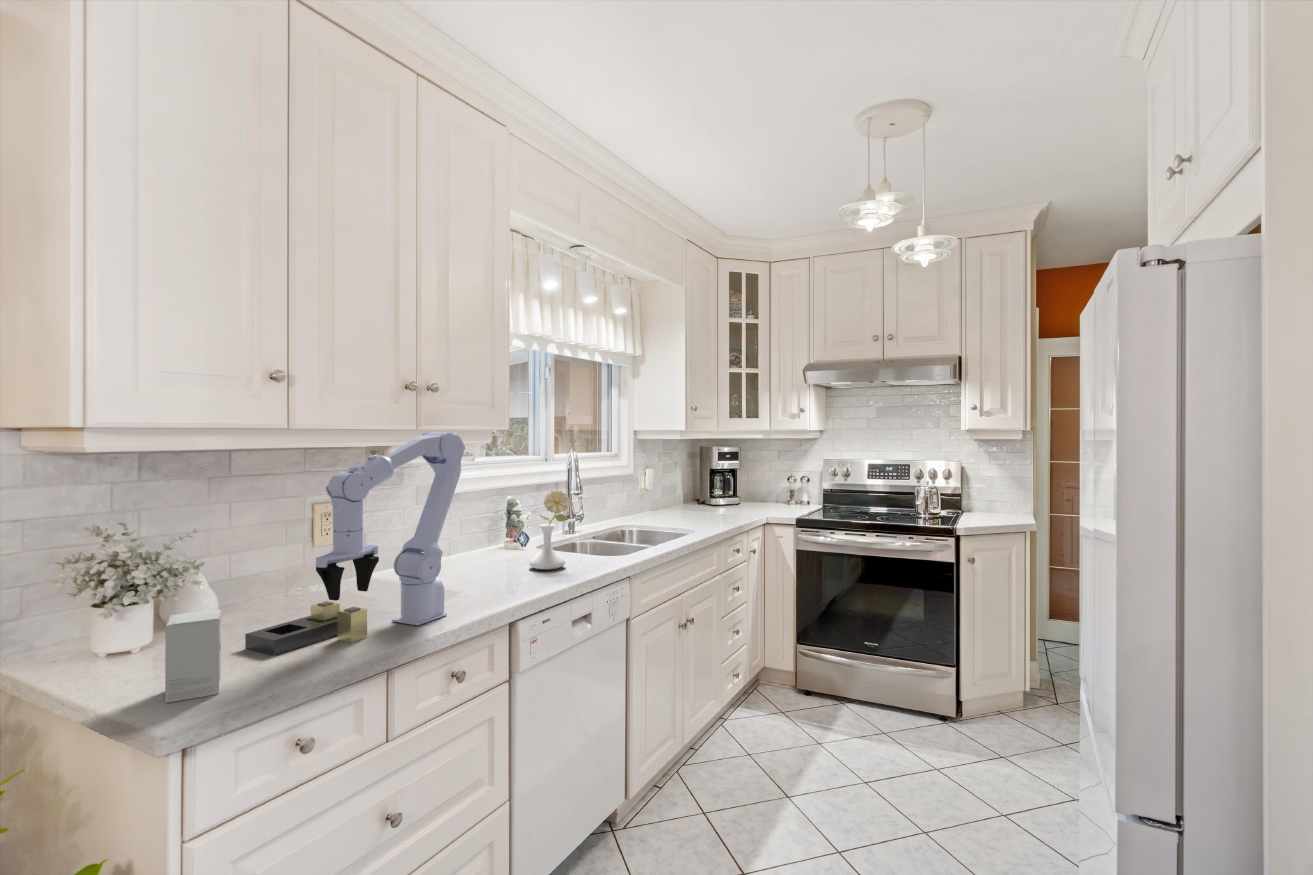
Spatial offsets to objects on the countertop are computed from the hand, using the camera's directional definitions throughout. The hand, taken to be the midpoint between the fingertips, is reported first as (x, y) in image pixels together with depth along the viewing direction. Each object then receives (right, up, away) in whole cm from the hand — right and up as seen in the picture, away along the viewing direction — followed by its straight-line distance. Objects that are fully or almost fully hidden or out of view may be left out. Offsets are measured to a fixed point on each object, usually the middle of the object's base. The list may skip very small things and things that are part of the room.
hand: (348, 595), depth 135 cm
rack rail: (-10, -9, +1) cm, 13 cm away
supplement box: (-13, -10, -27) cm, 31 cm away
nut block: (0, -9, +1) cm, 9 cm away
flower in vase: (+30, -9, +71) cm, 78 cm away
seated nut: (-8, -9, +5) cm, 13 cm away
